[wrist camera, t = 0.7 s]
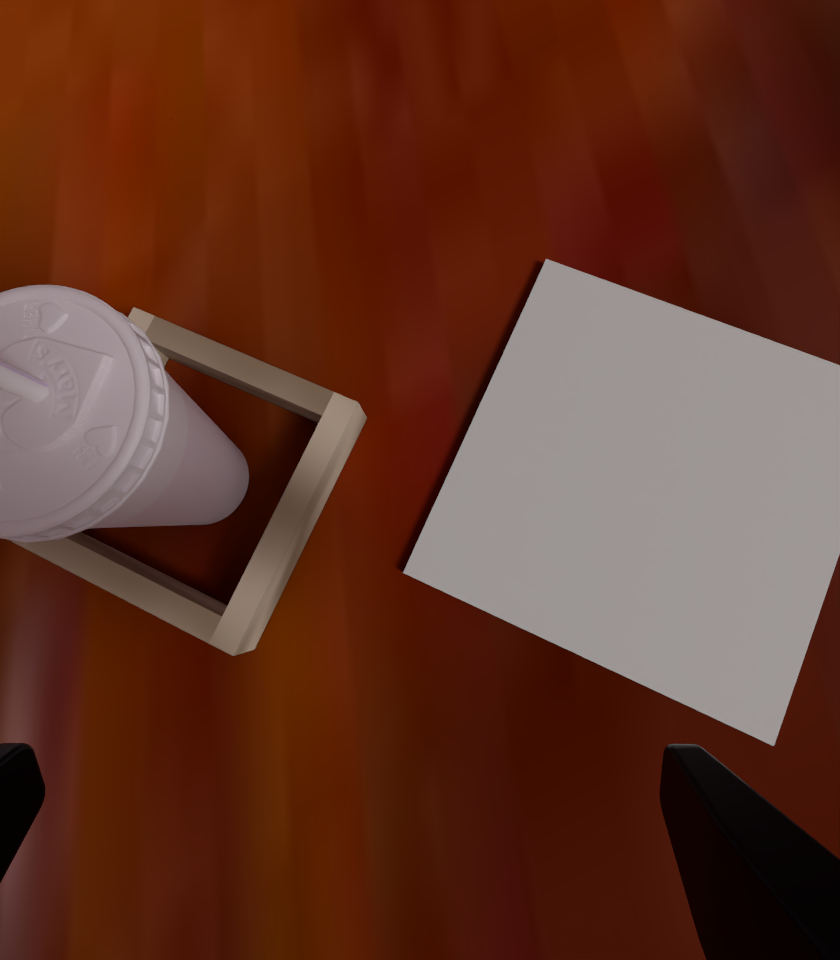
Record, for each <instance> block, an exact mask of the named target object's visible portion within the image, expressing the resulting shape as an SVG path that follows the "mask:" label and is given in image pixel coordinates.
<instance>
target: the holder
mask: <svg viewBox="0 0 840 960" xmlns="http://www.w3.org/2000/svg"><path fill="white" fill-rule="evenodd" d="M128 319H130V320H131V321H132V322H133V323H134V324H136V325H137V326H138V327H139V328H140V329H142V330H143V331H144V332H145V333H146V335H147V336H148V338H149V339H150V341H151V343H152V344H153V346H154V347H155V349H156V350H157V352H158V353H159V355H160V356H161V359H162V363H163V366H165V364H166V362H167V361H168V359H172V360H174V361H176V362H179V363H181V364H183V365H185V366H188V367H190V368H192V369H195V370H197V371H199V372H202V373H204V374H206V375H208V376H211V377H213V378H215V379H218V380H220V381H222V382H225V383H227V384H229V385H231V386H234V387H236V388H238V389H241V390H243V391H245V392H247V393H250V394H252V395H254V396H257V397H259V398H261V399H264V400H266V401H268V402H270V403H273V404H275V405H277V406H280V407H282V408H284V409H287V410H289V411H291V412H293V413H296V414H298V415H300V416H303V417H305V418H307V419H309V420H312V421H314V422H316V423H318V425H317V427H316V429H315V431H314V433H313V435H312V437H311V439H310V441H309V443H308V445H307V447H306V449H305V451H304V453H303V455H302V457H301V459H300V461H299V463H298V465H297V467H296V469H295V471H294V473H293V475H292V477H291V479H290V481H289V483H288V485H287V487H286V489H285V491H284V493H283V495H282V497H281V499H280V501H279V503H278V506H277V508H276V510H275V512H274V514H273V516H272V518H271V520H270V522H269V524H268V526H267V528H266V530H265V532H264V534H263V536H262V538H261V540H260V542H259V544H258V546H257V548H256V550H255V552H254V554H253V556H252V558H251V560H250V562H249V564H248V566H247V568H246V570H245V572H244V574H243V576H242V578H241V580H240V582H239V584H238V586H237V588H236V590H235V592H234V594H233V596H232V598H231V600H230V602H229V604H228V606H227V605H225V604H223V603H221V602H219V601H217V600H215V599H213V598H211V597H209V596H208V595H206V594H204V593H202V592H200V591H198V590H196V589H194V588H192V587H190V586H188V585H186V584H184V583H182V582H180V581H178V580H176V579H174V578H172V577H170V576H168V575H166V574H164V573H162V572H160V571H158V570H156V569H154V568H152V567H150V566H148V565H146V564H144V563H142V562H140V561H138V560H136V559H134V558H132V557H130V556H128V555H126V554H124V553H122V552H120V551H118V550H116V549H114V548H112V547H110V546H108V545H106V544H104V543H102V542H100V541H98V540H96V539H94V538H92V537H90V536H88V535H86V534H84V533H82V532H78V533H75V534H73V535H70V536H67V537H65V538H62V539H58V540H49V541H39V542H29V543H25V542H19V541H14V540H10V541H12V542H13V543H15V544H17V545H19V546H21V547H23V548H25V549H27V550H29V551H31V552H33V553H35V554H37V555H39V556H41V557H43V558H44V559H46V560H48V561H50V562H52V563H54V564H56V565H58V566H60V567H62V568H64V569H66V570H68V571H70V572H72V573H73V574H75V575H77V576H79V577H81V578H83V579H85V580H87V581H89V582H91V583H93V584H95V585H97V586H99V587H101V588H103V589H104V590H106V591H108V592H110V593H112V594H114V595H116V596H118V597H120V598H122V599H124V600H126V601H128V602H130V603H132V604H133V605H135V606H137V607H139V608H141V609H143V610H145V611H147V612H149V613H151V614H153V615H155V616H157V617H159V618H161V619H163V620H164V621H166V622H168V623H170V624H172V625H174V626H176V627H178V628H180V629H182V630H184V631H186V632H188V633H190V634H192V635H193V636H195V637H197V638H199V639H201V640H203V641H205V642H207V643H209V644H211V645H213V646H215V647H217V648H219V649H221V650H222V651H224V652H226V653H228V654H230V655H232V656H235V655H238V654H242V653H245V652H248V651H251V650H254V649H255V647H256V645H257V643H258V641H259V639H260V637H261V635H262V633H263V631H264V629H265V627H266V625H267V623H268V621H269V618H270V616H271V614H272V612H273V610H274V608H275V606H276V604H277V602H278V600H279V598H280V596H281V594H282V592H283V590H284V588H285V586H286V584H287V581H288V579H289V577H290V575H291V573H292V571H293V569H294V567H295V565H296V563H297V561H298V559H299V557H300V555H301V553H302V551H303V549H304V546H305V544H306V542H307V540H308V538H309V536H310V534H311V532H312V530H313V528H314V526H315V524H316V522H317V520H318V518H319V516H320V514H321V512H322V509H323V507H324V505H325V503H326V501H327V499H328V497H329V495H330V493H331V491H332V489H333V487H334V485H335V483H336V481H337V479H338V477H339V475H340V472H341V470H342V468H343V466H344V464H345V462H346V460H347V458H348V456H349V454H350V452H351V450H352V448H353V446H354V444H355V442H356V440H357V437H358V435H359V433H360V431H361V429H362V427H363V425H364V423H365V421H366V419H367V417H366V415H365V414H364V412H363V410H362V408H361V407H360V405H359V403H358V402H356V401H354V400H352V399H349V398H347V397H344V396H342V395H340V394H337V393H335V392H333V391H330V390H328V389H326V388H323V387H321V386H319V385H316V384H314V383H311V382H309V381H307V380H304V379H302V378H300V377H297V376H295V375H293V374H290V373H288V372H286V371H283V370H281V369H278V368H276V367H274V366H271V365H269V364H267V363H264V362H262V361H260V360H257V359H255V358H253V357H250V356H248V355H246V354H243V353H241V352H238V351H236V350H234V349H231V348H229V347H227V346H224V345H222V344H220V343H217V342H215V341H213V340H210V339H208V338H205V337H203V336H201V335H198V334H196V333H194V332H191V331H189V330H187V329H184V328H182V327H180V326H177V325H175V324H172V323H170V322H168V321H165V320H163V319H161V318H158V317H156V316H154V315H151V314H149V313H147V312H144V311H142V310H139V309H137V308H135V307H133V309H132V311H131V313H130V314H129V316H128Z"/></svg>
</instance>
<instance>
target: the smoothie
mask: <svg viewBox="0 0 840 960" xmlns="http://www.w3.org/2000/svg"><path fill="white" fill-rule="evenodd" d="M248 483H249V470H248V465H247V462H246V459H245V457H244V455H243V454H242V452H241V451H240V450H239V449H238V447H237V446H236V445H235V444H234V443H233V442H232V441H231V440H230V439H229V438H228V437H227V436H226V435H225V434H224V433H223V432H222V431H221V429H220V428H219V427H218V426H217V425H216V424H215V423H214V422H213V421H212V420H211V419H210V418H209V417H208V416H207V415H206V414H205V413H204V412H203V410H202V409H201V408H200V407H199V406H198V405H197V404H196V403H195V402H194V401H193V400H192V399H191V398H190V397H189V396H188V395H187V394H186V392H185V391H184V390H183V389H182V388H181V387H180V386H179V385H178V384H177V383H176V382H175V381H174V380H173V379H172V378H171V376H170V375H169V374H168V373H167V372H166V371H165V370H164V366H163V363H162V359H161V356H160V355H159V353H158V352H157V350H156V349H155V347H154V346H153V344H152V343H151V341H150V339H149V338H148V336H147V335H146V333H145V332H144V331H143V330H142V329H140V328H139V327H138V326H137V325H136V324H134V323H133V322H132V321H131V320H130V319H128V318H127V317H126V316H125V315H124V314H122V313H120V312H118V311H116V310H114V309H113V308H112V307H110V306H109V305H108V304H106V303H105V302H103V301H102V300H100V299H98V298H97V297H95V296H93V295H90V294H88V293H86V292H83V291H80V290H77V289H74V288H69V287H64V286H56V285H33V286H25V287H20V288H15V289H11V290H7V291H4V292H1V293H0V538H3V539H8V540H14V541H19V542H25V543H29V542H39V541H49V540H58V539H62V538H65V537H67V536H70V535H73V534H75V533H78V532H81V531H83V530H86V529H91V528H110V527H144V526H177V525H206V524H212V523H215V522H218V521H220V520H222V519H224V518H226V517H227V516H229V515H230V514H231V513H232V512H234V511H235V510H236V508H237V507H238V506H239V505H240V503H241V502H242V500H243V498H244V496H245V494H246V491H247V488H248Z"/></svg>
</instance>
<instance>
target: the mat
mask: <svg viewBox="0 0 840 960" xmlns="http://www.w3.org/2000/svg"><path fill="white" fill-rule="evenodd" d="M839 554H840V365H837V364H834V363H832V362H829V361H826V360H823V359H821V358H818V357H815V356H812V355H810V354H807V353H804V352H801V351H799V350H796V349H793V348H790V347H788V346H785V345H782V344H779V343H777V342H774V341H771V340H768V339H766V338H763V337H760V336H757V335H755V334H752V333H749V332H746V331H744V330H741V329H738V328H735V327H733V326H730V325H727V324H724V323H721V322H719V321H716V320H713V319H710V318H708V317H705V316H702V315H699V314H697V313H694V312H691V311H688V310H686V309H683V308H680V307H677V306H675V305H672V304H669V303H666V302H664V301H661V300H658V299H655V298H653V297H650V296H647V295H644V294H642V293H639V292H636V291H633V290H631V289H628V288H625V287H622V286H620V285H617V284H614V283H611V282H608V281H606V280H603V279H600V278H597V277H595V276H592V275H589V274H586V273H584V272H581V271H578V270H575V269H573V268H570V267H567V266H564V265H562V264H559V263H556V262H553V261H551V260H548V259H546V260H545V263H544V265H543V267H542V269H541V271H540V274H539V276H538V278H537V280H536V282H535V284H534V287H533V289H532V291H531V293H530V295H529V298H528V300H527V302H526V304H525V306H524V309H523V311H522V313H521V315H520V317H519V320H518V322H517V324H516V326H515V328H514V331H513V333H512V335H511V337H510V339H509V341H508V344H507V346H506V348H505V350H504V352H503V355H502V357H501V359H500V361H499V363H498V366H497V368H496V370H495V372H494V374H493V377H492V379H491V381H490V383H489V385H488V387H487V390H486V392H485V394H484V396H483V398H482V401H481V403H480V405H479V407H478V409H477V412H476V414H475V416H474V418H473V420H472V423H471V425H470V427H469V429H468V431H467V433H466V436H465V438H464V440H463V442H462V444H461V447H460V449H459V451H458V453H457V455H456V458H455V460H454V462H453V464H452V466H451V469H450V471H449V473H448V475H447V477H446V480H445V482H444V484H443V486H442V488H441V490H440V493H439V495H438V497H437V499H436V501H435V504H434V506H433V508H432V510H431V512H430V515H429V517H428V519H427V521H426V523H425V526H424V528H423V530H422V532H421V534H420V536H419V539H418V541H417V543H416V545H415V547H414V550H413V552H412V554H411V556H410V558H409V561H408V563H407V565H406V567H405V569H404V572H403V573H405V574H407V575H409V576H411V577H413V578H415V579H417V580H420V581H422V582H424V583H426V584H428V585H430V586H432V587H434V588H437V589H439V590H441V591H443V592H445V593H447V594H449V595H452V596H454V597H456V598H458V599H460V600H462V601H464V602H467V603H469V604H471V605H473V606H475V607H477V608H479V609H482V610H484V611H486V612H488V613H490V614H492V615H494V616H496V617H499V618H501V619H503V620H505V621H507V622H509V623H511V624H514V625H516V626H518V627H520V628H522V629H524V630H526V631H529V632H531V633H533V634H535V635H537V636H539V637H541V638H544V639H546V640H548V641H550V642H552V643H554V644H556V645H558V646H561V647H563V648H565V649H567V650H569V651H571V652H573V653H576V654H578V655H580V656H582V657H584V658H586V659H588V660H591V661H593V662H595V663H597V664H599V665H601V666H603V667H606V668H608V669H610V670H612V671H614V672H616V673H618V674H621V675H623V676H625V677H627V678H629V679H631V680H633V681H635V682H638V683H640V684H642V685H644V686H646V687H648V688H650V689H653V690H655V691H657V692H659V693H661V694H663V695H665V696H668V697H670V698H672V699H674V700H676V701H678V702H680V703H683V704H685V705H687V706H689V707H691V708H693V709H695V710H697V711H700V712H702V713H704V714H706V715H708V716H710V717H712V718H715V719H717V720H719V721H721V722H723V723H725V724H727V725H730V726H732V727H734V728H736V729H738V730H740V731H742V732H745V733H747V734H749V735H751V736H753V737H755V738H757V739H759V740H762V741H764V742H766V743H768V744H770V745H772V746H774V744H775V741H776V738H777V735H778V733H779V730H780V727H781V724H782V721H783V718H784V715H785V712H786V709H787V706H788V703H789V700H790V697H791V694H792V692H793V689H794V686H795V683H796V680H797V677H798V674H799V671H800V668H801V665H802V662H803V659H804V656H805V653H806V651H807V648H808V645H809V642H810V639H811V636H812V633H813V630H814V627H815V624H816V621H817V618H818V615H819V612H820V609H821V607H822V604H823V601H824V598H825V595H826V592H827V589H828V586H829V583H830V580H831V577H832V574H833V571H834V568H835V566H836V563H837V560H838V557H839Z"/></svg>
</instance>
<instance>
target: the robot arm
mask: <svg viewBox="0 0 840 960" xmlns="http://www.w3.org/2000/svg"><path fill="white" fill-rule="evenodd" d="M44 797H45V784H44V781H43V778H42V775H41V771H40V768H39V765H38V762H37V759H36V756H35V753H34V750H33V748H32V747H31V746H30V745H28V744H25V743H3V744H0V883H1V881H2V879H3V877H4V875H5V873H6V871H7V870H8V868H9V866H10V864H11V862H12V860H13V858H14V857H15V855H16V853H17V851H18V849H19V847H20V845H21V844H22V842H23V840H24V838H25V836H26V834H27V832H28V830H29V829H30V827H31V825H32V823H33V821H34V819H35V817H36V816H37V814H38V812H39V810H40V808H41V806H42V804H43V801H44ZM660 802H661V808H662V812H663V816H664V819H665V823H666V826H667V830H668V833H669V837H670V840H671V844H672V847H673V851H674V854H675V858H676V861H677V865H678V868H679V872H680V875H681V879H682V882H683V886H684V889H685V893H686V896H687V900H688V903H689V907H690V910H691V914H692V917H693V920H694V924H695V927H696V930H697V934H698V937H699V940H700V943H701V946H702V949H703V951H704V954H705V957H706V960H840V859H839V858H838V857H836V856H835V855H834V854H833V853H831V852H830V851H829V850H828V849H826V848H825V847H824V846H823V845H822V844H820V843H819V842H818V841H817V840H815V839H814V838H813V837H812V836H810V835H809V834H808V833H807V832H806V831H804V830H803V829H802V828H801V827H799V826H798V825H797V824H796V823H794V822H793V821H792V820H791V819H790V818H788V817H787V816H786V815H785V814H783V813H782V812H781V811H780V810H778V809H777V808H776V807H775V806H774V805H772V804H771V803H770V802H769V801H767V800H766V799H765V798H764V797H762V796H761V795H760V794H759V793H758V792H756V791H755V790H754V789H753V788H751V787H750V786H749V785H748V784H746V783H745V782H744V781H743V780H742V779H740V778H739V777H738V776H737V775H735V774H734V773H733V772H732V771H730V770H729V769H728V768H727V767H726V766H724V765H723V764H722V763H721V762H719V761H718V760H717V759H716V758H714V757H713V756H712V755H711V754H710V753H708V752H707V751H706V750H705V749H703V748H702V747H700V746H698V745H695V744H669V745H667V746H666V748H665V750H664V754H663V763H662V773H661V784H660Z"/></svg>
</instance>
